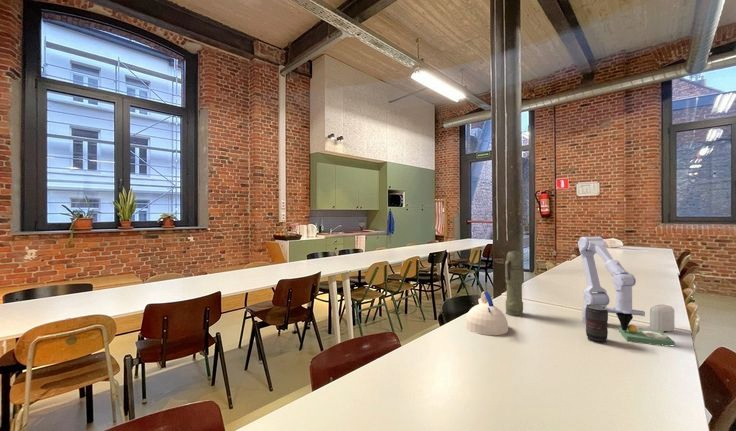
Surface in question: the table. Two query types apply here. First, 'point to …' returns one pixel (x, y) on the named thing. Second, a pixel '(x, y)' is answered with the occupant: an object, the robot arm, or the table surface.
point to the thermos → (514, 283)
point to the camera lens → (596, 323)
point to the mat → (647, 337)
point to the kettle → (486, 318)
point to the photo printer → (662, 318)
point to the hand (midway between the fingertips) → (624, 329)
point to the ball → (632, 328)
